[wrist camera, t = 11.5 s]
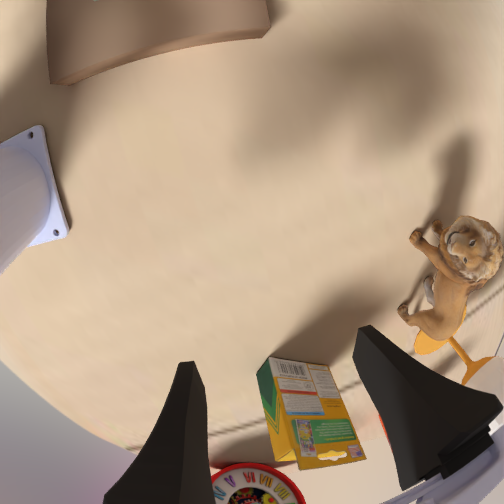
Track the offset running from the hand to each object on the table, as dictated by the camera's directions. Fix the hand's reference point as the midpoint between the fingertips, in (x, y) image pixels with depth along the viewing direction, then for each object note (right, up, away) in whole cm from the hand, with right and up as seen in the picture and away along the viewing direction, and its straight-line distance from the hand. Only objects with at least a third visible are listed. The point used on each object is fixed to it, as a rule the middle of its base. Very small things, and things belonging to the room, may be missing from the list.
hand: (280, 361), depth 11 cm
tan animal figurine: (+14, +4, +11) cm, 18 cm away
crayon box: (+3, -7, +15) cm, 17 cm away
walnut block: (-7, +21, -1) cm, 23 cm away
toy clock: (-3, -35, +29) cm, 45 cm away
